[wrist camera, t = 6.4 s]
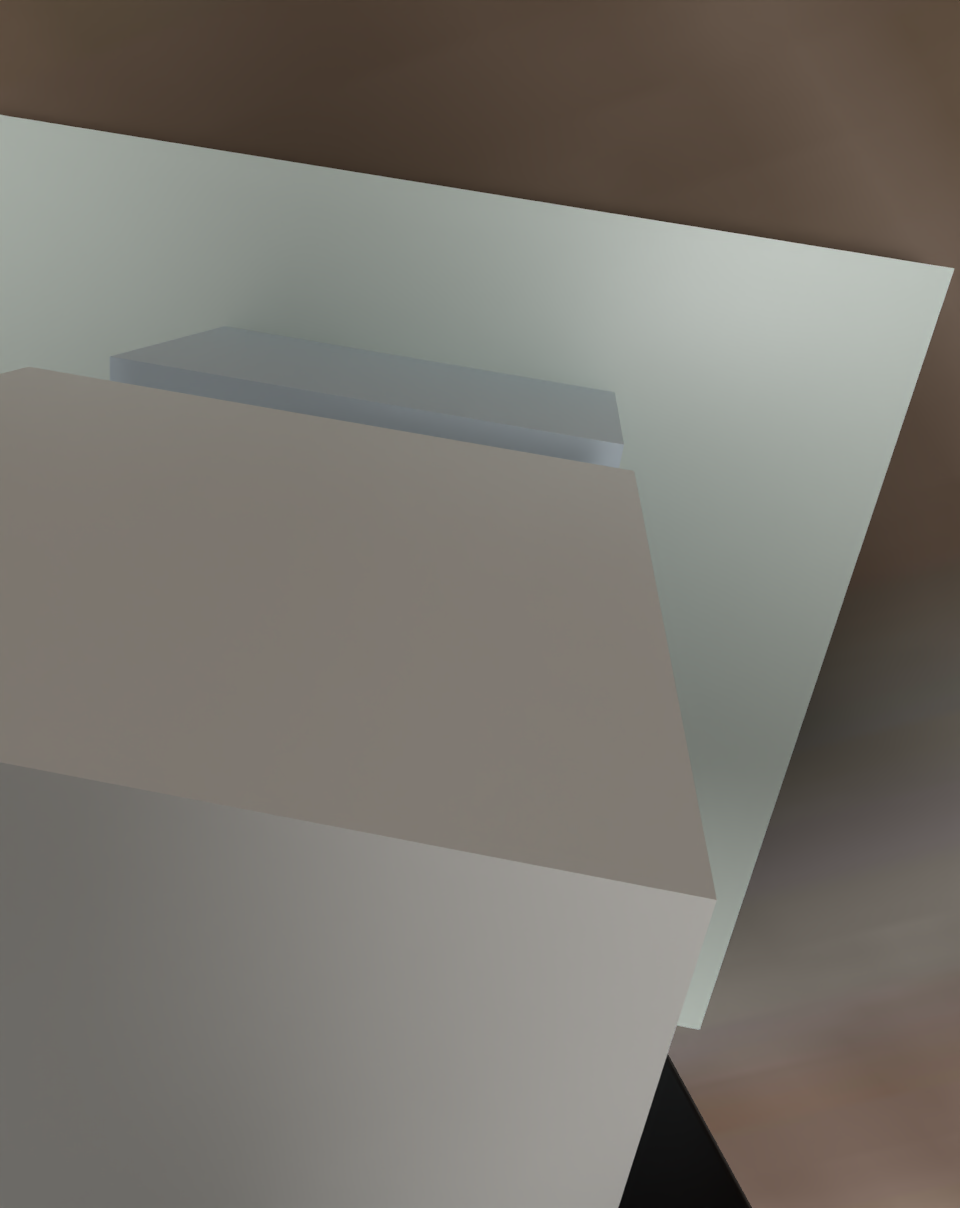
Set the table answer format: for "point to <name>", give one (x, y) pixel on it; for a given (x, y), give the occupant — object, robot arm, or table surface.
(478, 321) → the baseplate
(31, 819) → the ivory brick
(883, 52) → the table surface
